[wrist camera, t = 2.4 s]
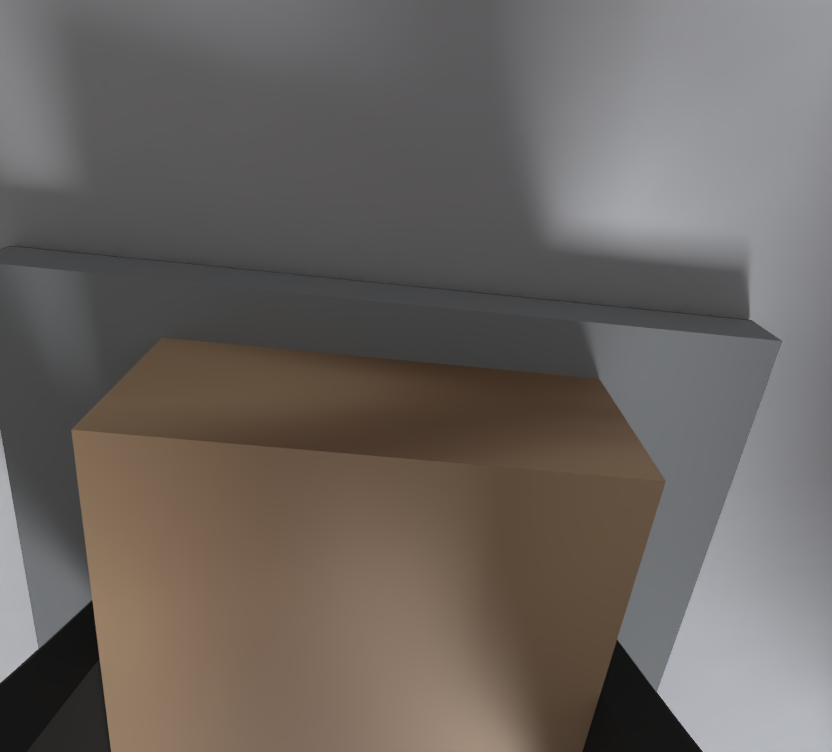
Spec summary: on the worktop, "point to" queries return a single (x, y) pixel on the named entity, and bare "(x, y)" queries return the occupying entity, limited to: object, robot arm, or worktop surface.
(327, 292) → the mat
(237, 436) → the tan cardboard box
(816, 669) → the worktop surface
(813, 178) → the worktop surface
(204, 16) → the worktop surface
